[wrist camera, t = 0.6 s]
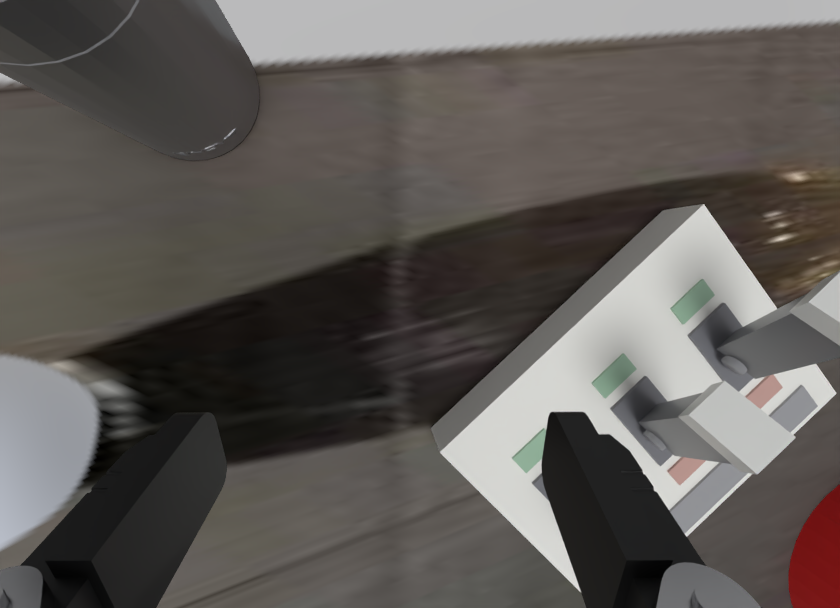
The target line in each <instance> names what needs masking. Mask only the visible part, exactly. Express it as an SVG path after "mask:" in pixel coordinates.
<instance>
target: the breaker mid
mask: <svg viewBox="0 0 840 608" xmlns="http://www.w3.org/2000/svg"><path fill="white" fill-rule="evenodd" d="M638 423H639V424H640V425H642V426H643V427H644V428H645V429H646V431H645V432H644V433H643V434H644V436H645V437H646V438H647V439H648V440H649V441H650V442H651V443H652V444H653V445H655V446H656V447H657V448H658V449H660V450H662V451H663V450H664V449H665V448H666V449H667V450H668V451H670V452H671V453H672V454H673V455H674V456H679V457H686V458H693V459H700V460H707V461H714V462H720V463H727V464H732V465H733V466H735V467H736V468H737V469H738V470H739V471H740V472H746V473H752V474H758V473H759V472H760V471H762V470H763V469H764V468H765V467H766V466H767V465H768V464H769V463H770V462H771V461H772V460H773V459H774V458H775V457H776V456H777V455H778V454H779V453H780V452H781V451H782V450H783V449H785V448H786V447H787V446H788V445H789V444H790V443H791V442H792V441H793V440H794V439H795V438H796V437H795V436H794V435H792V434H791V433H790V432H789V431H787V430H786V429H785V428H784V427H782V426H781V425H780V424H778V423H777V422H776V421H775V420H773V419H772V418H771V417H770V416H768V415H767V414H766V413H765V412H763V411H762V410H761V409H760V408H758V407H757V406H756V405H755V404H753V403H752V402H751V401H750V400H748V399H747V398H746V397H745V396H743V395H742V394H741V393H740V392H738V391H737V390H736V389H735V388H733V387H732V386H731V385H730V384H728V383H727V382H726V381H722V382H719V383H715V384H712V385H710V386H709V387H708V388H707V389H706V390H705V391H704V392H703V393H699V394H695V395H691V396H687V397H683V398H680V399H676V400H672V401H668V402H664V403H660V404H657V405H656V406H655V407H654V408H653V409H652V410H651V411H650V412H649V413H648V414H647V415H646V416H645V417H644V418H643V419H642V420H641V421H639V422H638Z"/></svg>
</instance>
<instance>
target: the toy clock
mask: <svg viewBox="0 0 840 608" xmlns="http://www.w3.org/2000/svg"><path fill="white" fill-rule="evenodd" d="M789 592H790V597H791V602H792V605H793V608H840V485H838V486H837V487H836V488H835V489H834V490H832V491H831V492H830V493H829V494H828V495H827V496H826V497H825V498H824V499H823V500H822V501H821V502H820V503H819V505H818V506H817V507H816V508H815V509H814V510H813V512H812V513H811V515H810V516H809V518H808V519H807V521H806V522H805V524H804V526H803V528H802V530H801V532H800V534H799V536H798V538H797V540H796V543H795V546H794V549H793V553H792V556H791V561H790V568H789Z"/></svg>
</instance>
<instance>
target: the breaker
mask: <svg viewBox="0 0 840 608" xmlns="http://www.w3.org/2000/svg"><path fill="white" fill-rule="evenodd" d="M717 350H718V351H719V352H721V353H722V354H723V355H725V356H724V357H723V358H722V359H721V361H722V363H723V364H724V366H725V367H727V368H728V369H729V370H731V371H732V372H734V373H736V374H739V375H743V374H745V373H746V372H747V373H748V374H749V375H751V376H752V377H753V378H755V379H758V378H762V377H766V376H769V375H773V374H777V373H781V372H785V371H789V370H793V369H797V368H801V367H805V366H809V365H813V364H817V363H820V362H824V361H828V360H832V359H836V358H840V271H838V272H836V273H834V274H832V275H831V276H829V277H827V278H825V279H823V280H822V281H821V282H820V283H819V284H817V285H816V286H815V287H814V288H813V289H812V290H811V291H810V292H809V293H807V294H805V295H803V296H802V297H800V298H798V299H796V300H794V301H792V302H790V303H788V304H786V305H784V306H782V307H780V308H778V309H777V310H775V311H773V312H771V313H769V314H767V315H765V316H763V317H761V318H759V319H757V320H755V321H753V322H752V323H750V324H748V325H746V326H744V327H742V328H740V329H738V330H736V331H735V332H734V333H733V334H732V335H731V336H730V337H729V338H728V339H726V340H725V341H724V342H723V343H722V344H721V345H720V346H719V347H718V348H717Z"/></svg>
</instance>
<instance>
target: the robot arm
mask: <svg viewBox="0 0 840 608" xmlns="http://www.w3.org/2000/svg"><path fill="white" fill-rule="evenodd" d="M0 73H2V74H4V75H6V76H8V77H10V78H12V79H14V80H16V81H18V82H20V83H22V84H24V85H26V86H28V87H30V88H32V89H34V90H36V91H38V92H40V93H42V94H44V95H46V96H48V97H50V98H52V99H54V100H56V101H58V102H60V103H62V104H64V105H66V106H68V107H70V108H72V109H74V110H76V111H78V112H80V113H82V114H84V115H86V116H88V117H90V118H92V119H94V120H96V121H98V122H100V123H102V124H104V125H106V126H108V127H110V128H112V129H114V130H116V131H118V132H120V133H122V134H124V135H126V136H128V137H130V138H132V139H134V140H136V141H138V142H140V143H142V144H144V145H146V146H148V147H150V148H152V149H154V150H156V151H158V152H160V153H163V154H166V155H168V156H171V157H174V158H178V159H184V160H190V161H192V160H207V159H211V158H215V157H219V156H221V155H223V154H225V153H227V152H229V151H231V150H232V149H234V148H235V147H236V146H237V145H238V144H239V143H241V142H242V141H243V140H244V138H245V137H246V136H247V134H248V133H249V132H250V130H251V129H252V126H253V124H254V122H255V119H256V117H257V112H258V107H259V85H258V81H257V76H256V72H255V70H254V68H253V66H252V63H251V61H250V59H249V57H248V55H247V54H246V52H245V50H244V49H243V47H242V45H241V43H240V42H239V40H238V38H237V37H236V35H235V34H234V32H233V30H232V28H231V26H230V24H229V23H228V21H227V19H226V18H225V16H224V14H223V13H222V11H221V9H220V8H219V6H218V4H217V2H216V1H215V0H0ZM541 466H542V478H543V484H544V488H545V491H546V494H547V497H548V499H549V502H550V505H551V508H552V511H553V514H554V516H555V519H556V522H557V525H558V528H559V531H560V534H561V536H562V539H563V542H564V545H565V548H566V551H567V554H568V556H569V559H570V562H571V565H572V568H573V571H574V573H575V576H576V579H577V582H578V585H579V588H580V591H581V593H582V596H583V599H584V602H585V605H586V608H762V607H760V606H759V605H758V604H757V602H756V601H755V600H754V599H753V598H752V597H751V596H750V595H749V594H748V593H747V592H746V591H745V590H744V589H743V588H742V587H741V586H740V585H738V584H737V583H736V582H735V581H733V580H732V579H730V578H729V577H727V576H726V575H724V574H722V573H720V572H718V571H717V570H714V569H712V568H710V567H707V566H706V565H705V564H704V562H703V561H702V560H701V558H700V557H699V555H698V554H697V552H696V550H695V549H694V547H693V546H692V544H691V543H690V541H689V540H688V538H687V537H686V535H685V534H684V532H683V531H682V529H681V528H680V526H679V525H678V523H677V522H676V520H675V519H674V517H673V516H672V514H671V513H670V511H669V510H668V508H667V506H666V505H665V503H664V502H663V500H662V499H661V497H660V496H659V494H658V493H657V492H655V491H654V487H653V485H652V484H651V482H650V481H649V479H648V478H647V476H646V475H645V474H643V470H642V469H641V467H640V466H639V464H638V463H637V461H636V459H635V458H634V456H633V455H632V453H631V452H630V451H629V450H628V449H627V448H626V447H625V446H623V445H622V444H621V443H620V442H619V441H617V440H616V439H615V438H614V437H613V436H611V435H610V434H598V432H597V431H596V429H595V427H594V426H593V424H592V422H591V421H590V419H589V417H588V416H587V414H586V413H585V412H551V413H550V414H549V417H548V422H547V429H546V435H545V442H544V449H543V455H542V465H541ZM226 472H227V463H226V458H225V454H224V450H223V446H222V442H221V439H220V435H219V431H218V427H217V423H216V420H215V417H214V415H213V414H211V413H176V414H174V415H172V416H171V417H170V418H169V419H168V420H167V422H166V423H165V424H164V425H163V426H162V427H161V428H160V430H159V431H158V432H157V433H156V434H155V435H149V436H148V437H146V438H145V439H143V440H142V441H140V442H139V443H137V444H136V445H135V446H133V447H132V448H130V449H129V450H127V451H126V452H125V453H124V454H123V455H122V456H121V457H120V458H119V459H118V460H117V461H116V462H115V463H114V465H113V466H112V467H111V468H110V469H109V470H108V471H107V475H106V476H103V477H102V478H101V479H100V480H99V481H98V482H97V483H96V484H95V485H94V486H93V487H92V491H91V492H90V493H87V494H86V495H85V496H84V497H83V498H82V499H81V500H80V502H79V503H78V504H77V505H76V506H75V507H74V508H73V509H72V510H71V511H70V512H69V513H68V515H67V516H66V517H65V518H64V519H63V520H62V521H61V522H60V523H59V524H58V525H57V527H56V528H55V529H54V530H53V531H52V532H51V533H50V534H49V535H48V536H47V537H46V538H45V540H44V541H43V542H42V543H41V544H40V545H39V546H38V547H37V548H36V549H35V550H34V552H33V553H32V554H31V555H30V556H29V557H28V558H27V559H26V560H25V561H24V562H23V563H22V564H21V565H20V566H15V567H9V568H6V569H3V570H0V608H156V607H157V605H158V603H159V602H160V600H161V598H162V596H163V594H164V593H165V591H166V589H167V587H168V585H169V584H170V582H171V580H172V578H173V576H174V575H175V573H176V571H177V569H178V567H179V566H180V564H181V562H182V560H183V558H184V556H185V555H186V553H187V551H188V549H189V547H190V546H191V544H192V542H193V540H194V538H195V537H196V535H197V533H198V531H199V529H200V528H201V526H202V524H203V522H204V520H205V519H206V517H207V515H208V513H209V511H210V510H211V508H212V506H213V504H214V502H215V500H216V499H217V497H218V495H219V493H220V491H221V490H222V487H223V485H224V482H225V478H226Z"/></svg>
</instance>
